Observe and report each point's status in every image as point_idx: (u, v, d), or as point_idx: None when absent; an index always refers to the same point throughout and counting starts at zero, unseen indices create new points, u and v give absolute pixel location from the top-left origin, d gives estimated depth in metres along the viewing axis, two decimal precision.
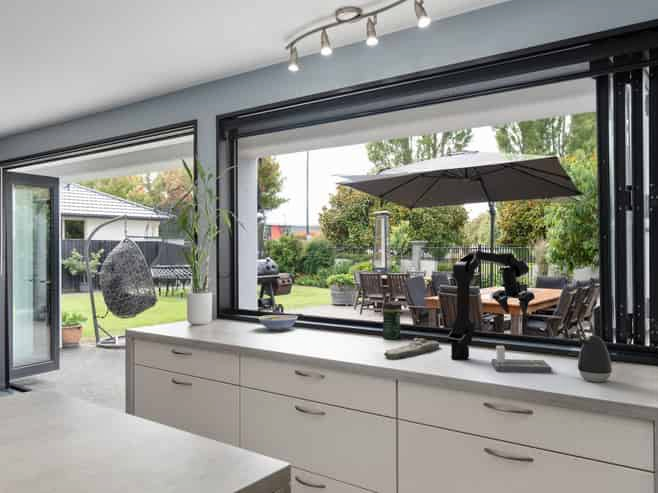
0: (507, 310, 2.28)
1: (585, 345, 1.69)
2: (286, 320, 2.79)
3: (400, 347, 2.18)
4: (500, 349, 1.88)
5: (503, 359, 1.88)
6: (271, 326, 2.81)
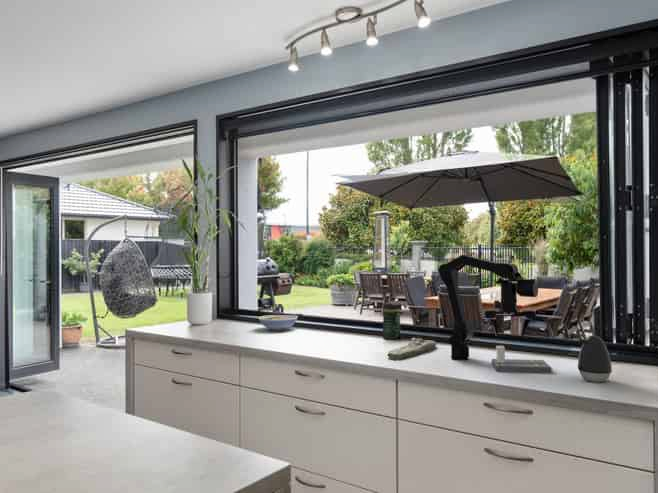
0: None
1: (585, 345, 1.69)
2: (286, 320, 2.79)
3: (401, 347, 2.17)
4: (500, 349, 1.88)
5: (503, 359, 1.88)
6: (271, 326, 2.81)
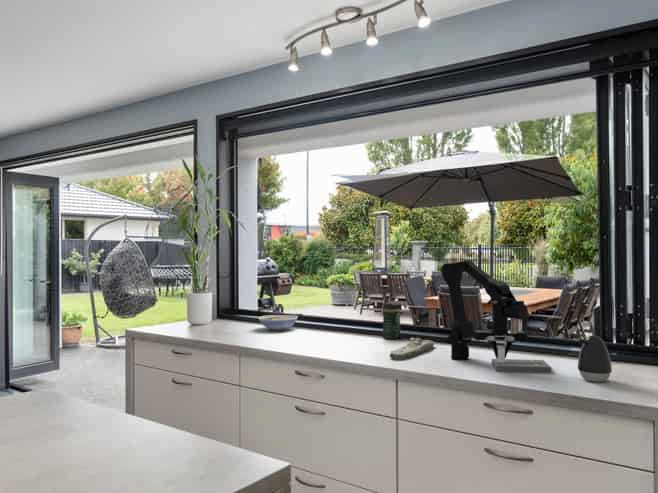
0: None
1: (585, 345, 1.69)
2: (286, 320, 2.79)
3: (402, 347, 2.17)
4: (500, 349, 1.88)
5: (503, 359, 1.88)
6: (271, 326, 2.81)
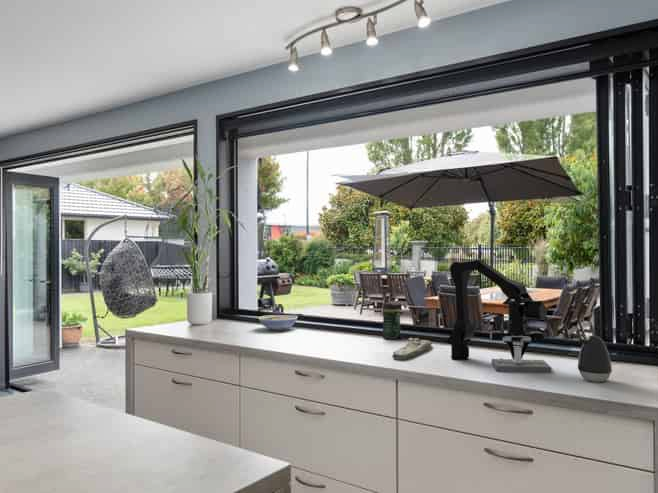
0: (513, 355, 1.89)
1: (585, 345, 1.69)
2: (286, 320, 2.79)
3: (403, 348, 2.16)
4: (517, 349, 1.87)
5: (520, 359, 1.86)
6: (271, 326, 2.81)
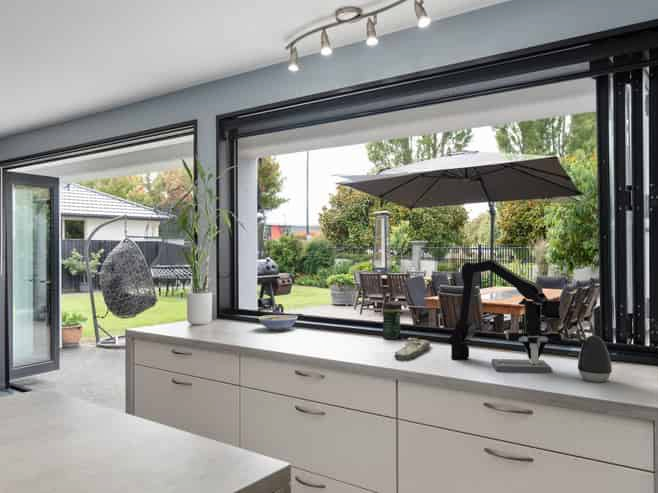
0: None
1: (585, 345, 1.69)
2: (286, 320, 2.79)
3: (403, 348, 2.16)
4: (533, 350, 1.86)
5: (536, 360, 1.85)
6: (271, 326, 2.81)
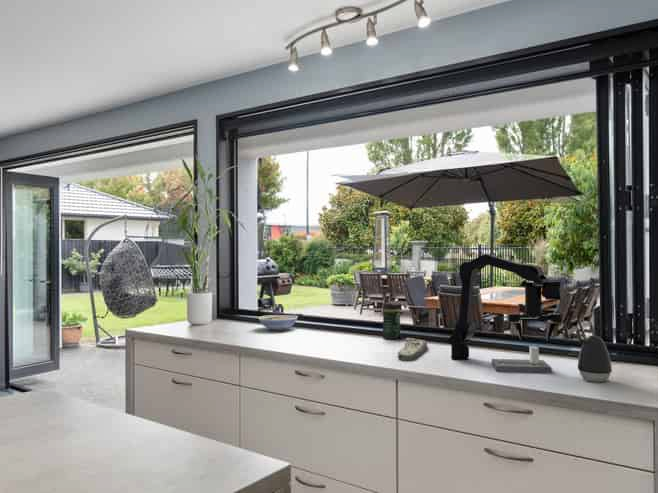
0: (521, 337, 1.88)
1: (585, 345, 1.69)
2: (286, 320, 2.79)
3: (404, 348, 2.16)
4: (534, 350, 1.86)
5: (537, 360, 1.85)
6: (271, 326, 2.81)
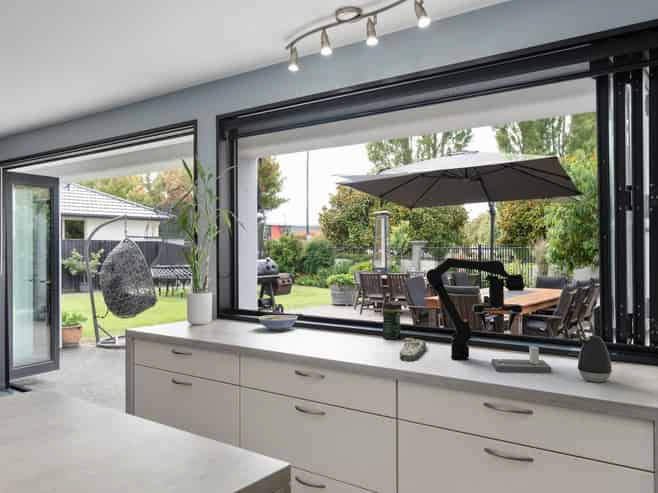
0: (485, 326, 2.05)
1: (585, 345, 1.69)
2: (286, 320, 2.79)
3: (405, 348, 2.15)
4: (534, 350, 1.86)
5: (537, 360, 1.85)
6: (271, 326, 2.81)
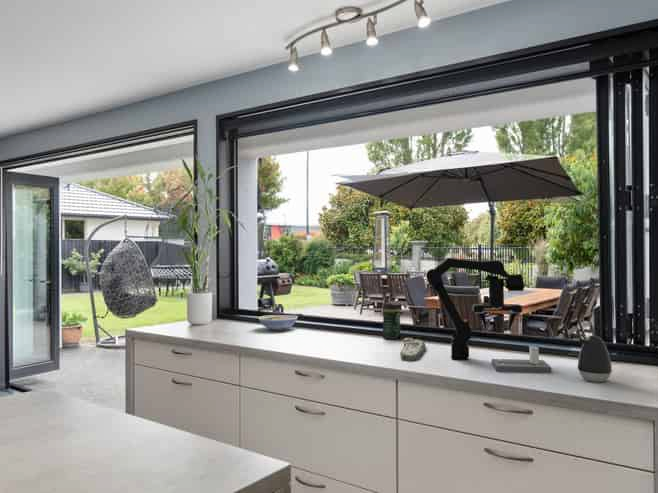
0: (485, 326, 2.05)
1: (585, 345, 1.69)
2: (286, 320, 2.79)
3: (405, 348, 2.15)
4: (534, 350, 1.86)
5: (537, 360, 1.85)
6: (271, 326, 2.81)
